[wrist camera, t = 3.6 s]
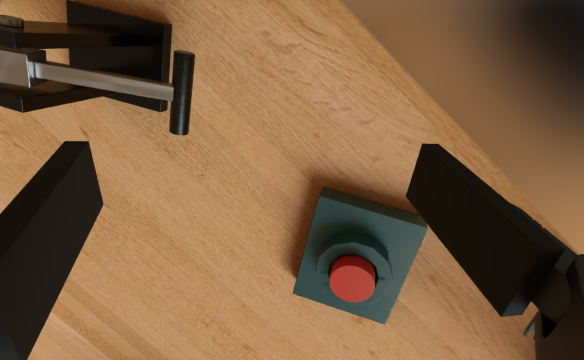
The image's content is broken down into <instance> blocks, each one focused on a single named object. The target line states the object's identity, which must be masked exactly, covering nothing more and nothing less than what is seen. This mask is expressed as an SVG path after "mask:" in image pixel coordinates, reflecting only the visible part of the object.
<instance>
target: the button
mask: <svg viewBox="0 0 584 360" xmlns="http://www.w3.org/2000/svg"><path fill="white" fill-rule="evenodd" d="M330 287H331V289H332V291H333V292H334V293H335V295H337V296H338V297H339V298H341V299H343V300H345V301H348V302H361V301H364V300H366V299H368V298H369V297H370V296H371V295H372V294H373V292H374V289H375V270H374V268H373V266H372V264H371V263H370V262H369V261H368V260H367V259H365V258H363V257H361V256H358V255H344V256H342V257H340V258H338V259H337V260H336V261H335V262H334V264H333V266H332V271H331V275H330Z"/></svg>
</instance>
